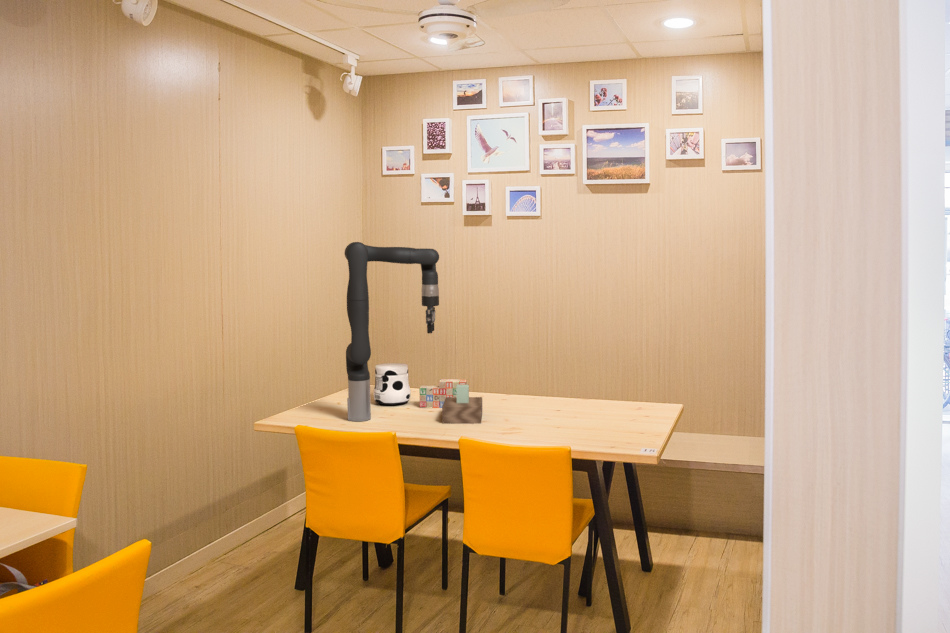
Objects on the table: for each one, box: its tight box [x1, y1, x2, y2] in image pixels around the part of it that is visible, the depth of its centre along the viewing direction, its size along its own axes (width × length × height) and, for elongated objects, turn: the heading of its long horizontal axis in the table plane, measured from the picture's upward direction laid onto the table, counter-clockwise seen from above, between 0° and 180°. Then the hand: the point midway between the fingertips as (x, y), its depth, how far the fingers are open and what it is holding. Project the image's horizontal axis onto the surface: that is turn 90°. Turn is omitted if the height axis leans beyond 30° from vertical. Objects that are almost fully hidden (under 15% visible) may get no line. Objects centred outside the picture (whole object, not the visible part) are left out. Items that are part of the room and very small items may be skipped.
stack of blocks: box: [419, 378, 468, 409], centre depth 346 cm, size 21×6×12 cm, turn 87°
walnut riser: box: [441, 396, 483, 424], centre depth 323 cm, size 16×20×7 cm
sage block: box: [456, 384, 470, 403], centre depth 322 cm, size 5×5×7 cm
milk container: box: [373, 362, 412, 406], centre depth 354 cm, size 17×17×18 cm
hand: (430, 332), depth 328 cm, fingers open, 8 cm apart
